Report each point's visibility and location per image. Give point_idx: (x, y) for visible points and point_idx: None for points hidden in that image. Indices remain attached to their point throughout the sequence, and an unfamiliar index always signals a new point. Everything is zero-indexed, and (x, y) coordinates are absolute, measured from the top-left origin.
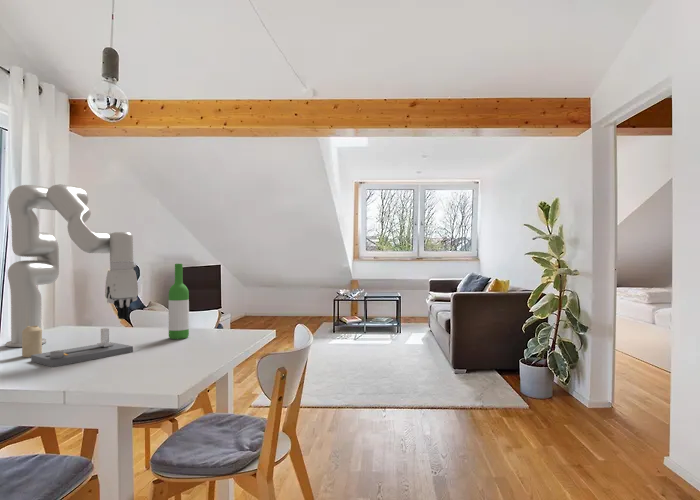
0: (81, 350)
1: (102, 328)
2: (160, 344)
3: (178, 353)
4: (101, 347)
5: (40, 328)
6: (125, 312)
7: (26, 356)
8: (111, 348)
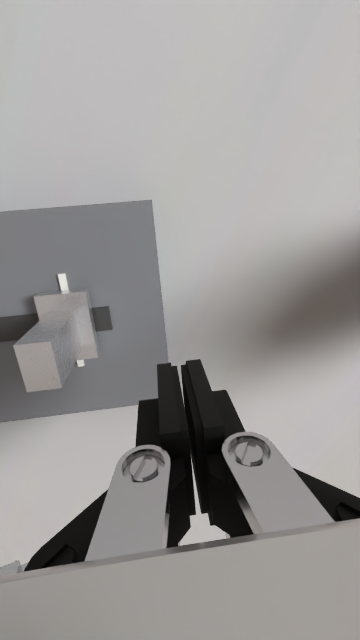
0: None
1: (26, 345)
2: (334, 319)
3: None
4: None
5: None
6: (194, 471)
7: None
8: (81, 381)
